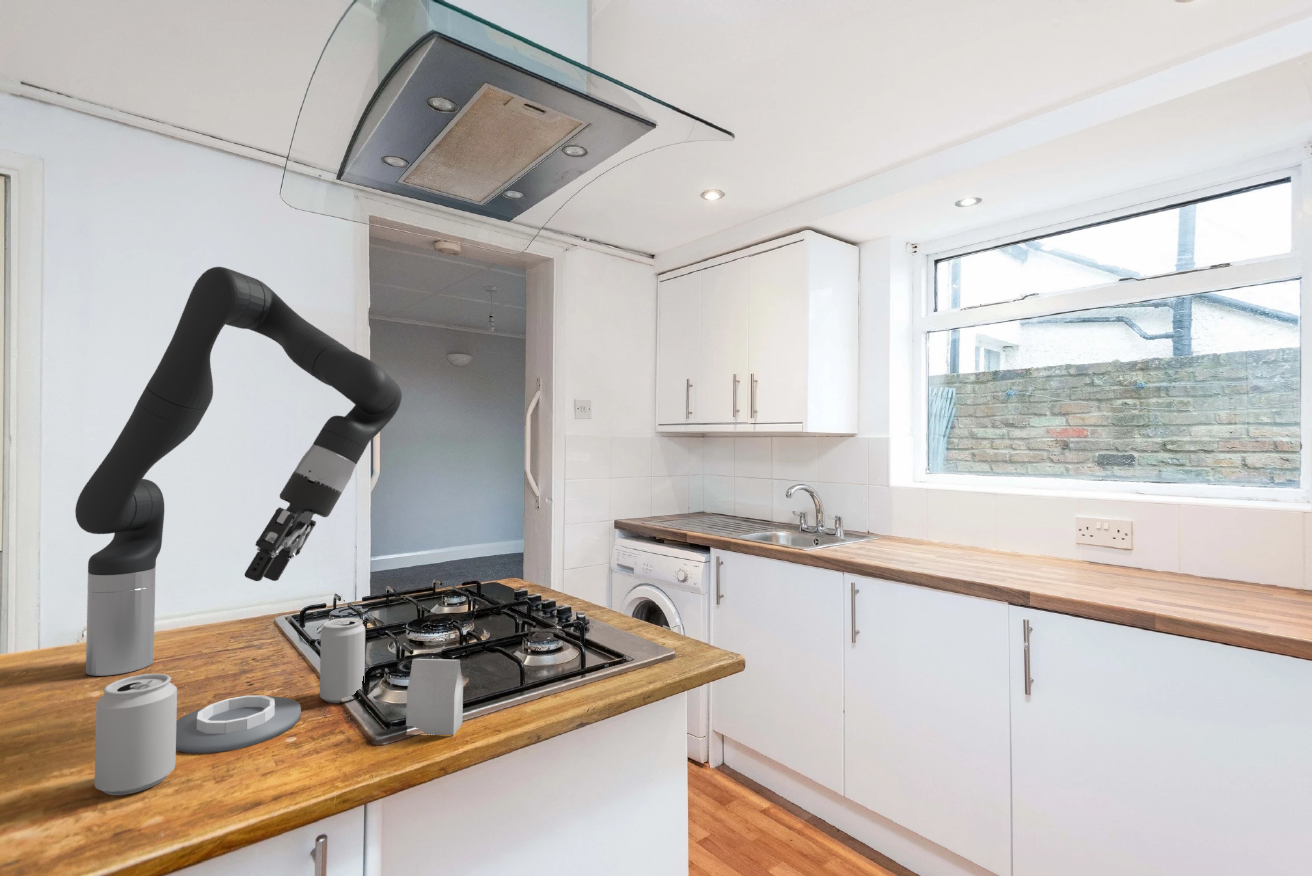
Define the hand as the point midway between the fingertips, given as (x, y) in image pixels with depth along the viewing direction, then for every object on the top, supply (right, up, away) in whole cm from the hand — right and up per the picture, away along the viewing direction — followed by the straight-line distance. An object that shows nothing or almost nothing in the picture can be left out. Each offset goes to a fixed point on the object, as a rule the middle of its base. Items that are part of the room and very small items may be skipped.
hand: (260, 579), depth 94 cm
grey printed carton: (+27, -21, -3) cm, 34 cm away
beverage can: (+8, -21, +8) cm, 24 cm away
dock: (-2, -20, -3) cm, 21 cm away
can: (-4, -20, -18) cm, 27 cm away
